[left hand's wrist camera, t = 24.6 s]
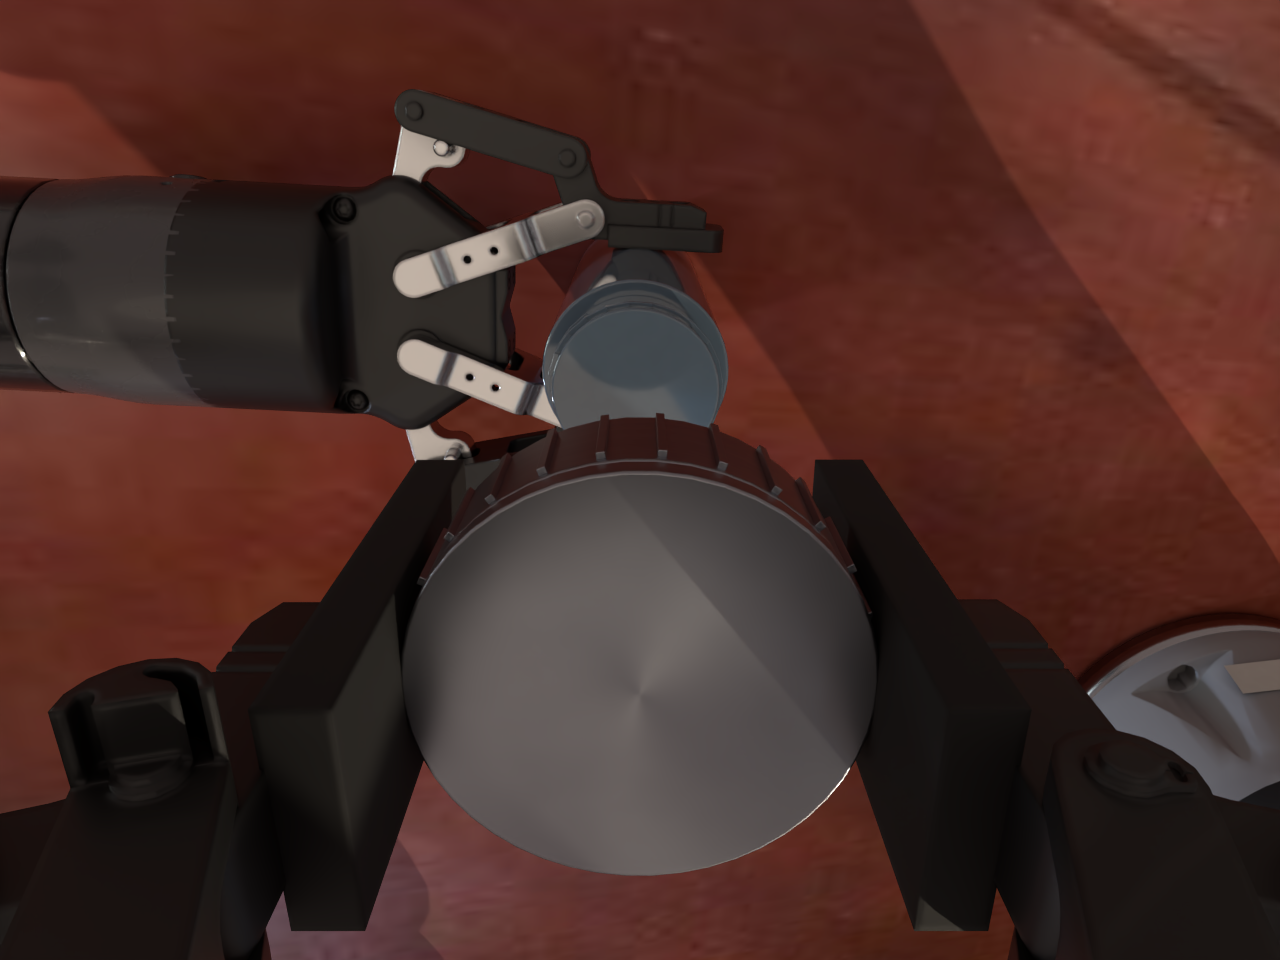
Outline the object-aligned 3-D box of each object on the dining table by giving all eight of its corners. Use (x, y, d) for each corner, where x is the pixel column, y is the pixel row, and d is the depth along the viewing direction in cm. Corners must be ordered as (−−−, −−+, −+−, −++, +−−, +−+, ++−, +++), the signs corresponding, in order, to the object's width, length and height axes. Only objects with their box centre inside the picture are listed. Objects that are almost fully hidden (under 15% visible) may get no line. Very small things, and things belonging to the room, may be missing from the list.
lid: (919, 489, 12) (972, 556, 10) (755, 818, 14) (774, 926, 12) (495, 348, 11) (465, 393, 9) (389, 717, 13) (347, 815, 11)
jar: (713, 248, 35) (765, 329, 21) (672, 362, 37) (695, 508, 23) (595, 207, 35) (568, 262, 21) (559, 325, 36) (511, 451, 22)
